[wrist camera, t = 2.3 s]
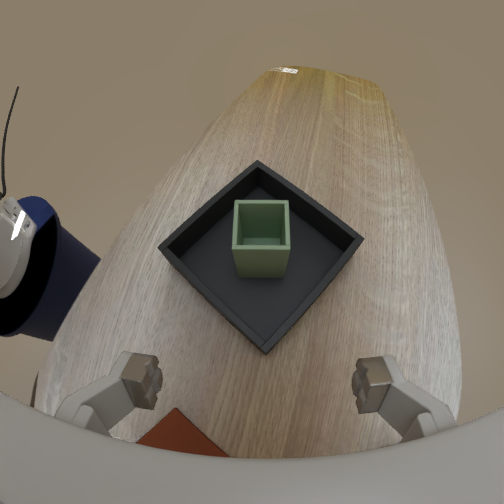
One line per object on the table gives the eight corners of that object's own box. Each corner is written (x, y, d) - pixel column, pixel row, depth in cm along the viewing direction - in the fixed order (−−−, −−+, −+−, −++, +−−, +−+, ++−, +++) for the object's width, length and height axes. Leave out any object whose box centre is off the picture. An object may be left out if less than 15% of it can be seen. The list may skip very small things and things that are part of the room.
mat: (114, 461, 24) (112, 462, 23) (175, 407, 27) (175, 407, 26) (186, 526, 20) (185, 528, 20) (256, 477, 23) (256, 478, 23)
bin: (169, 262, 33) (157, 247, 29) (257, 181, 38) (257, 159, 33) (265, 355, 29) (266, 353, 25) (352, 254, 33) (364, 238, 29)
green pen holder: (238, 277, 32) (231, 249, 24) (240, 237, 34) (234, 199, 26) (284, 278, 32) (290, 249, 24) (283, 237, 34) (288, 199, 26)
